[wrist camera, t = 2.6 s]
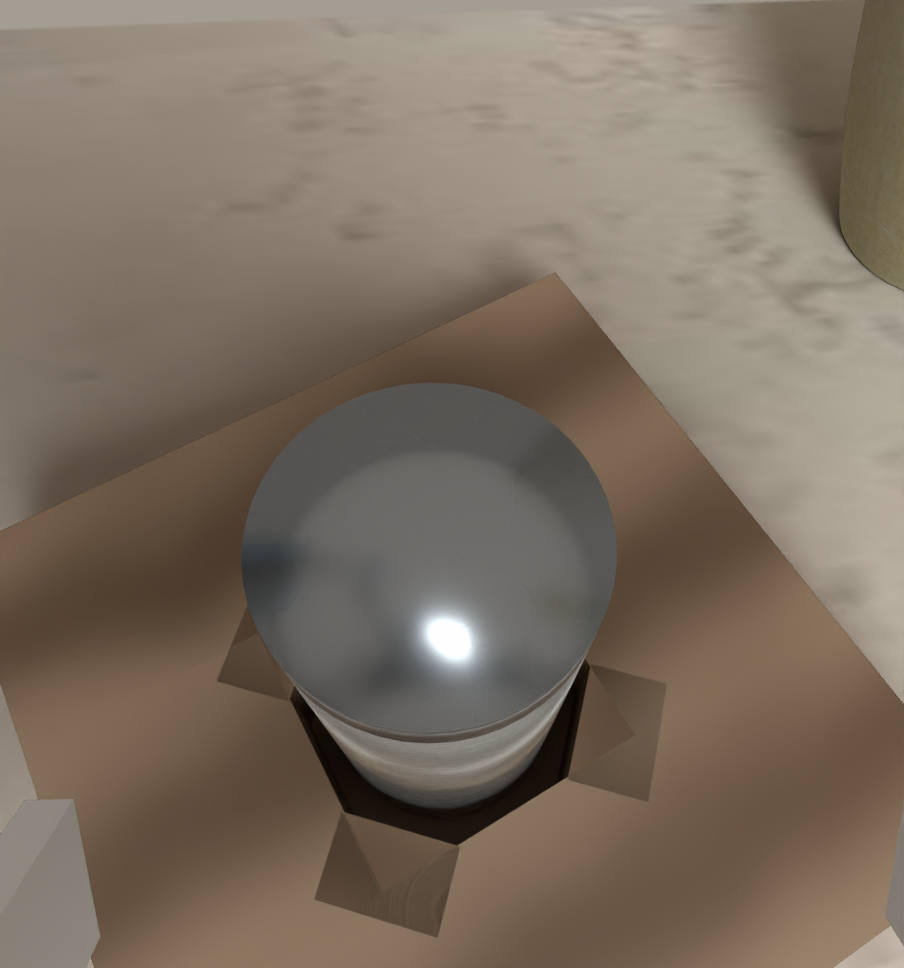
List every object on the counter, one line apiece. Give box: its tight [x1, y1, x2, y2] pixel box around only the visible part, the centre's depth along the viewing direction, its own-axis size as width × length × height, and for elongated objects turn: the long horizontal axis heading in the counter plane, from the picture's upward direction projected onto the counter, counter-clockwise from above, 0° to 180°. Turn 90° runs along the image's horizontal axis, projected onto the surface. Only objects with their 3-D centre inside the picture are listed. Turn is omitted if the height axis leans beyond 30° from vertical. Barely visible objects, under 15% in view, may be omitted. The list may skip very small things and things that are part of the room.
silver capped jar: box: [241, 383, 617, 819], centre depth 19 cm, size 6×6×13 cm
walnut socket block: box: [0, 272, 904, 968], centre depth 24 cm, size 20×20×4 cm
